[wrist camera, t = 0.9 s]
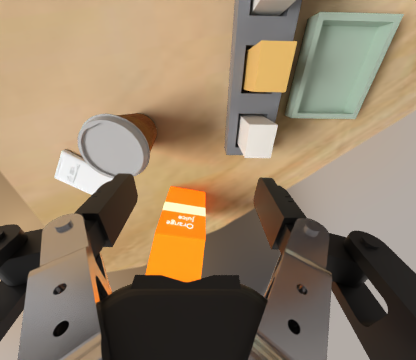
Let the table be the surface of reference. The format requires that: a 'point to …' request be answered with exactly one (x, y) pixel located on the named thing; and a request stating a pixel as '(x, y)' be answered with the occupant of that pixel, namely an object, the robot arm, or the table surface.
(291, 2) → the fuse
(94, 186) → the external hard drive
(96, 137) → the disposable coffee cup
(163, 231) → the orange juice
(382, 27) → the tray
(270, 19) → the rack
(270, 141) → the fuse
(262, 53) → the tan rectangular block
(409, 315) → the robot arm
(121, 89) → the table surface
